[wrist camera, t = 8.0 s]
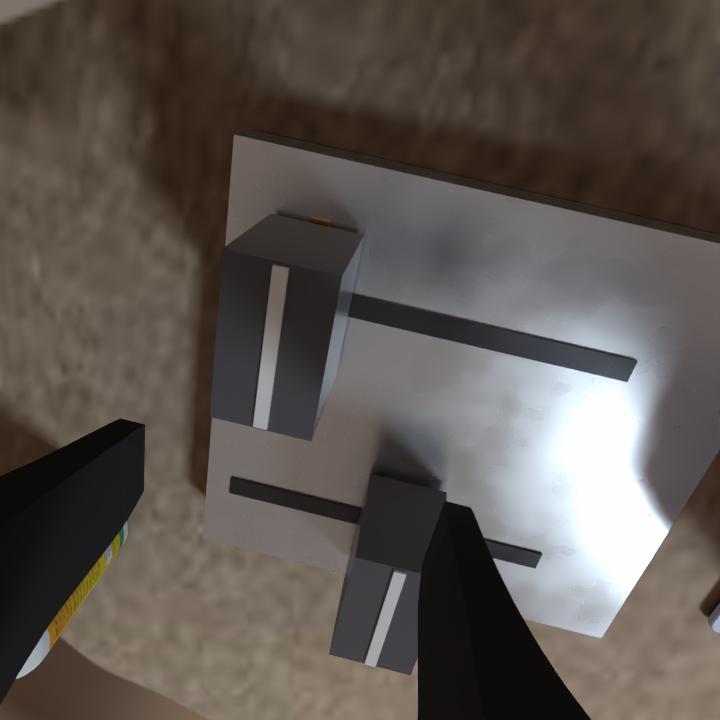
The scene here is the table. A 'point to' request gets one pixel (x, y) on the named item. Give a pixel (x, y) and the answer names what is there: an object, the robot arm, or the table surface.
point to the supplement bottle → (73, 604)
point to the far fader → (386, 575)
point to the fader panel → (487, 376)
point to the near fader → (282, 323)
